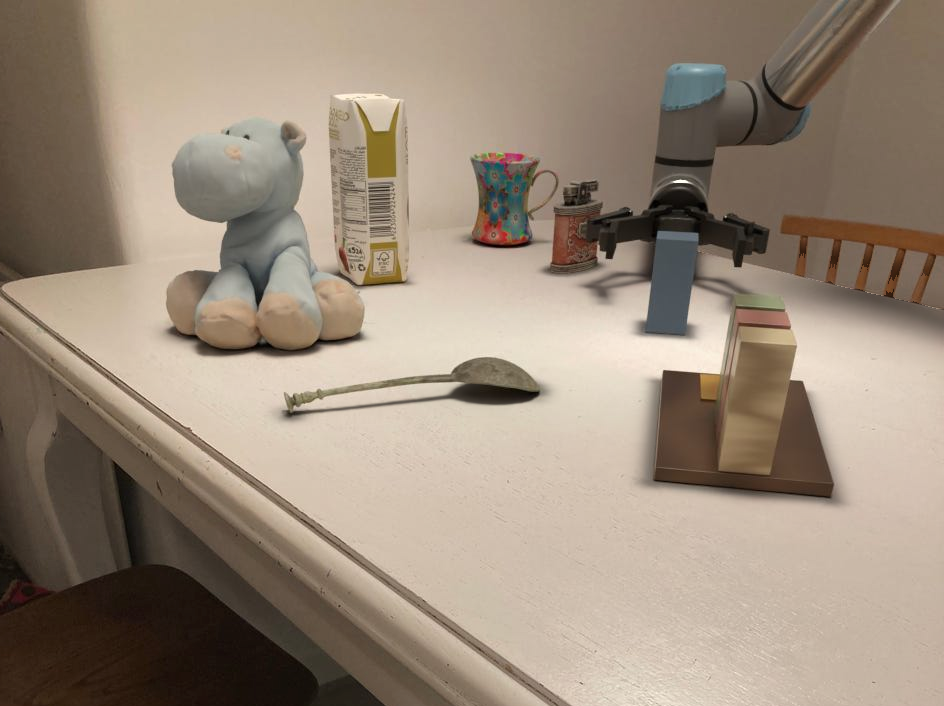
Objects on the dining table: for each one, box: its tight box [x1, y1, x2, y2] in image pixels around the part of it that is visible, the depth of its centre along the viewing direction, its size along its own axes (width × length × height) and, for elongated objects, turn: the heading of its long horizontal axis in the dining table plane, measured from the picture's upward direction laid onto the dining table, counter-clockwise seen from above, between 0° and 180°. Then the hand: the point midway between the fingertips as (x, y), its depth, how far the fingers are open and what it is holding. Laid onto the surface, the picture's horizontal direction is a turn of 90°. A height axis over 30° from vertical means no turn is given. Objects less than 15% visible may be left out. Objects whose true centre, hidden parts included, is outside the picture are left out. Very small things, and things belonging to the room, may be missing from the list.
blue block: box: [644, 231, 699, 336], centre depth 97 cm, size 4×4×9 cm
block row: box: [653, 293, 835, 498], centre depth 73 cm, size 12×22×10 cm, turn 169°
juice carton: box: [328, 93, 410, 286], centre depth 110 cm, size 8×9×19 cm
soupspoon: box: [283, 356, 541, 414], centre depth 80 cm, size 22×3×7 cm
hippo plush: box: [165, 116, 366, 351], centre depth 92 cm, size 18×23×18 cm
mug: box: [469, 152, 560, 246], centre depth 131 cm, size 12×9×11 cm
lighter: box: [549, 178, 604, 274], centre depth 119 cm, size 8×3×10 cm, turn 137°
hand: (674, 250), depth 102 cm, fingers open, 13 cm apart
